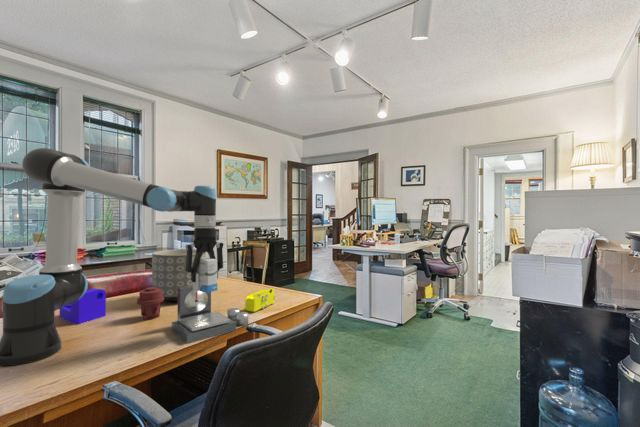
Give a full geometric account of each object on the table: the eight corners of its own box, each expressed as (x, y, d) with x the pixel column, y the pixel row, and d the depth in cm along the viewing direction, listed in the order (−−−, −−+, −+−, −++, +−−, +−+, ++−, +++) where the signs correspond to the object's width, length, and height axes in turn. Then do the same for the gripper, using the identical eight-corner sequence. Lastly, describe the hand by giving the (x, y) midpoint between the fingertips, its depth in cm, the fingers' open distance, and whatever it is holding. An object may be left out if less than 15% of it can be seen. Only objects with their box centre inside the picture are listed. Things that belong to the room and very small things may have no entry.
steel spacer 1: (230, 322, 125) (230, 312, 125) (225, 319, 129) (225, 309, 129) (242, 319, 129) (242, 310, 129) (236, 316, 132) (236, 307, 132)
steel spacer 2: (239, 327, 120) (239, 316, 120) (233, 323, 124) (233, 313, 124) (250, 324, 123) (250, 314, 123) (244, 320, 127) (244, 311, 127)
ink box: (218, 290, 116) (218, 258, 116) (206, 293, 112) (206, 260, 112) (203, 287, 120) (203, 257, 120) (192, 290, 116) (192, 258, 116)
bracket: (105, 316, 132) (105, 288, 132) (79, 324, 122) (79, 294, 122) (75, 311, 138) (75, 285, 138) (47, 319, 128) (47, 290, 128)
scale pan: (191, 331, 106) (191, 328, 106) (179, 321, 116) (179, 319, 116) (230, 322, 116) (230, 319, 116) (215, 313, 125) (215, 311, 125)
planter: (193, 305, 148) (193, 255, 148) (141, 305, 148) (141, 254, 148) (212, 292, 173) (212, 249, 173) (167, 291, 173) (167, 249, 173)
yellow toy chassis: (255, 313, 137) (255, 294, 137) (244, 311, 139) (244, 293, 139) (275, 304, 151) (275, 287, 151) (265, 302, 154) (265, 285, 154)
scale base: (186, 343, 104) (187, 299, 104) (169, 328, 118) (169, 288, 118) (236, 330, 116) (236, 290, 116) (214, 317, 131) (215, 281, 131)
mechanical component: (169, 314, 134) (152, 322, 125) (149, 312, 136) (131, 320, 127) (169, 286, 134) (152, 291, 125) (149, 284, 136) (131, 290, 127)
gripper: (182, 228, 107) (182, 295, 107) (233, 227, 120) (233, 287, 120) (175, 227, 112) (174, 291, 112) (224, 226, 125) (224, 283, 125)
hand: (204, 289), depth 116 cm, fingers closed on ink box, 6 cm apart
